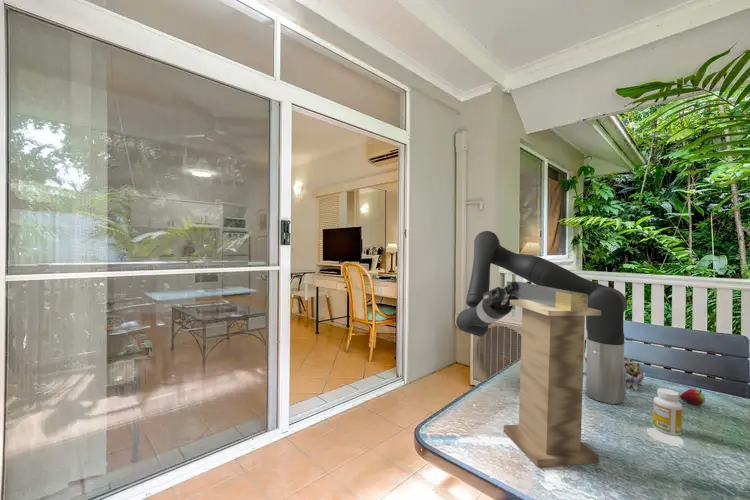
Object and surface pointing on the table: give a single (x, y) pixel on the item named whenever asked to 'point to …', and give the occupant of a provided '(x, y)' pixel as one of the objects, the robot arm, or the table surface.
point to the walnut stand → (551, 386)
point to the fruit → (693, 396)
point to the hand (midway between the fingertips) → (523, 284)
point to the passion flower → (633, 374)
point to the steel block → (552, 297)
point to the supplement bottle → (667, 412)
